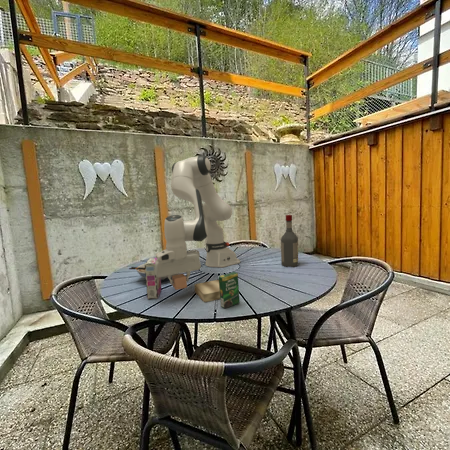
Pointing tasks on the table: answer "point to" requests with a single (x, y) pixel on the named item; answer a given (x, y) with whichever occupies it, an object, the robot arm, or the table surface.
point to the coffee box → (229, 290)
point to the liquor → (289, 245)
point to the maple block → (208, 290)
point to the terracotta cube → (179, 281)
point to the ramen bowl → (143, 271)
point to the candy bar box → (152, 280)
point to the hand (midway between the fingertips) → (179, 282)
